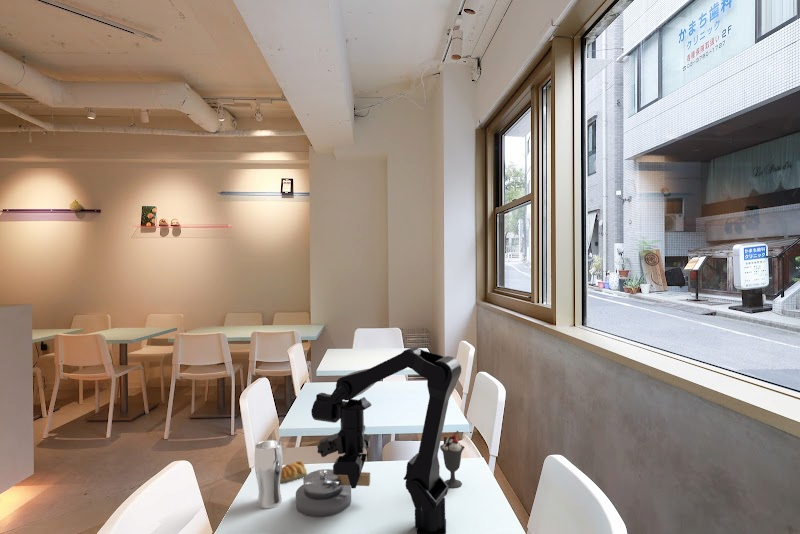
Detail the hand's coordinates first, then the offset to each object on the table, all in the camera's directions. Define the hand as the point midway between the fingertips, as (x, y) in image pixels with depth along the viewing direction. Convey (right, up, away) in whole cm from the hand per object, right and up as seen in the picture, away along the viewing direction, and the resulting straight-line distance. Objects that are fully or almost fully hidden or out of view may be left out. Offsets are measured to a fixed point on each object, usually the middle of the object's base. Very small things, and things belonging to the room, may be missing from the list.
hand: (353, 487), depth 116 cm
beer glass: (-22, -6, +5) cm, 23 cm away
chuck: (-5, -2, +4) cm, 6 cm away
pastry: (-20, -6, +19) cm, 28 cm away
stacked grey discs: (-8, -6, +4) cm, 11 cm away
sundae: (+26, -5, +12) cm, 29 cm away
